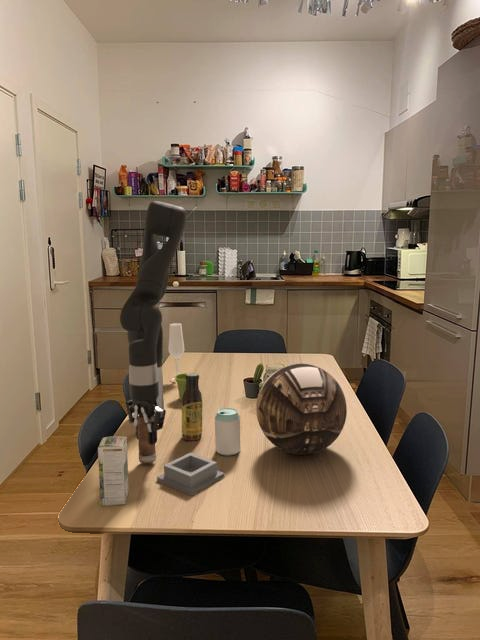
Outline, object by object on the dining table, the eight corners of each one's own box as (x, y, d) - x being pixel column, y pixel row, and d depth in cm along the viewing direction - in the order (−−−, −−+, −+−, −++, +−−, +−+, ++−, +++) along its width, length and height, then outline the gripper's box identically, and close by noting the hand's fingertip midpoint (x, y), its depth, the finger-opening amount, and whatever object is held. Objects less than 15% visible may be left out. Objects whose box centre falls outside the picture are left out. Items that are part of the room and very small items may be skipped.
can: (231, 458, 138) (231, 417, 136) (210, 453, 142) (209, 412, 140) (245, 449, 144) (244, 409, 142) (224, 444, 148) (223, 405, 146)
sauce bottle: (186, 443, 149) (184, 378, 146) (178, 435, 155) (176, 373, 151) (206, 438, 152) (205, 375, 149) (198, 431, 158) (196, 370, 154)
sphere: (327, 430, 157) (329, 352, 153) (360, 466, 133) (362, 374, 129) (249, 436, 153) (248, 356, 149) (267, 475, 129) (267, 381, 125)
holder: (157, 480, 127) (156, 465, 126) (190, 463, 136) (190, 449, 135) (191, 495, 119) (190, 480, 119) (224, 476, 128) (224, 461, 128)
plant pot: (170, 401, 187) (169, 378, 185) (182, 393, 195) (182, 371, 194) (193, 404, 183) (192, 380, 182) (204, 396, 192) (204, 374, 190)
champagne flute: (188, 379, 213) (187, 323, 209) (178, 383, 208) (176, 326, 204) (176, 377, 217) (174, 322, 213) (166, 381, 211) (164, 325, 207)
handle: (135, 460, 136) (133, 417, 134) (148, 454, 139) (146, 413, 137) (146, 465, 133) (144, 422, 131) (159, 459, 136) (158, 416, 134)
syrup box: (104, 493, 121) (101, 436, 118) (129, 492, 121) (126, 435, 119) (100, 506, 115) (96, 446, 113) (126, 505, 116) (123, 445, 113)
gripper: (173, 381, 130) (175, 443, 134) (137, 372, 139) (140, 430, 142) (150, 388, 125) (153, 453, 128) (115, 378, 134) (118, 439, 137)
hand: (146, 441), depth 135 cm, fingers closed on handle, 4 cm apart
